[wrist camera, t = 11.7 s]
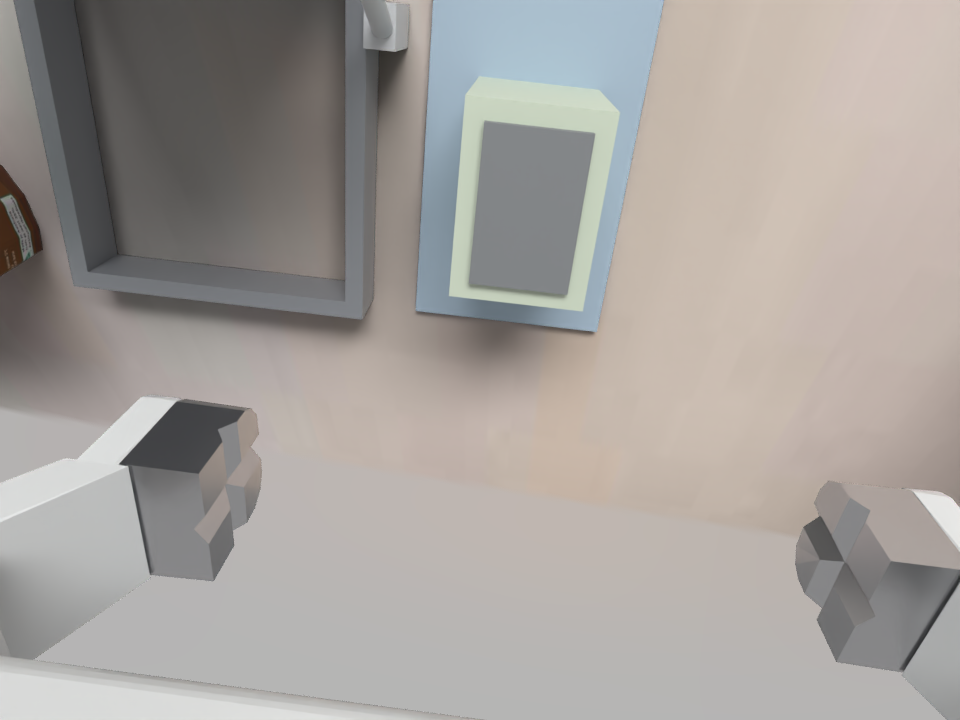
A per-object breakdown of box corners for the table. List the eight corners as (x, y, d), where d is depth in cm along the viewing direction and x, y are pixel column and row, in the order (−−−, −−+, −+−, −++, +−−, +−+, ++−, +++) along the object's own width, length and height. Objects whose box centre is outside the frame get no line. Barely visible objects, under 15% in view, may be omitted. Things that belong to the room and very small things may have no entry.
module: (598, 89, 27) (621, 113, 21) (571, 250, 30) (583, 314, 24) (479, 76, 27) (464, 96, 21) (464, 238, 30) (447, 299, 24)
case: (415, -136, 24) (313, -273, 13) (397, 301, 33) (325, 461, 21) (21, -180, 24) (-436, -353, 13) (104, 267, 33) (-128, 407, 21)
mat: (665, -17, 26) (667, -18, 25) (595, 328, 33) (596, 331, 32) (436, -42, 26) (435, -43, 25) (416, 307, 33) (415, 310, 32)
